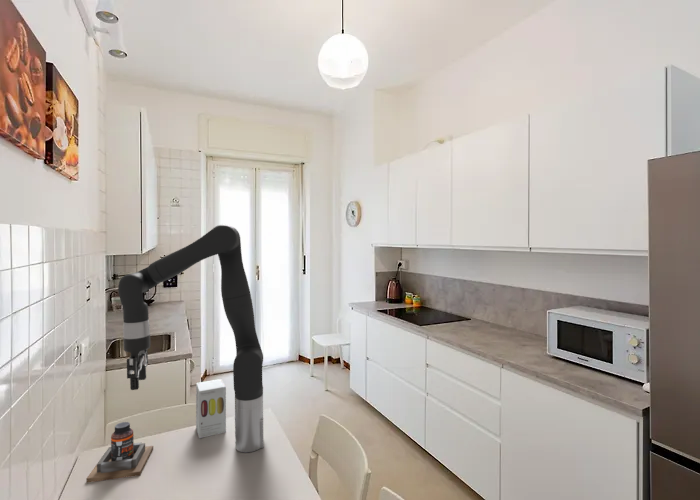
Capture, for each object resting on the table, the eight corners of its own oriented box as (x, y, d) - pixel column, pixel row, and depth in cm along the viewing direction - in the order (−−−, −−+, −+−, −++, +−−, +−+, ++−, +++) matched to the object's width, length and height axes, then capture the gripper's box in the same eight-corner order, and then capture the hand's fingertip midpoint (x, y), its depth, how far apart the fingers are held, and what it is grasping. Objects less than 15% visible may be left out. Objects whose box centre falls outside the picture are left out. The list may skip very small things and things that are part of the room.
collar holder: (153, 449, 124) (153, 438, 123) (140, 475, 110) (140, 463, 110) (105, 455, 120) (105, 443, 120) (86, 482, 107) (86, 470, 106)
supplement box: (198, 439, 130) (197, 391, 129) (195, 427, 138) (194, 382, 138) (226, 432, 135) (226, 386, 134) (222, 421, 143) (221, 377, 142)
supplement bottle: (123, 467, 112) (122, 430, 111) (106, 465, 113) (105, 428, 112) (138, 456, 118) (137, 421, 117) (122, 454, 119) (121, 419, 118)
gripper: (143, 339, 114) (145, 391, 114) (155, 328, 128) (156, 375, 128) (116, 341, 112) (118, 394, 112) (130, 330, 126) (132, 377, 126)
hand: (138, 384), depth 120 cm, fingers open, 8 cm apart
